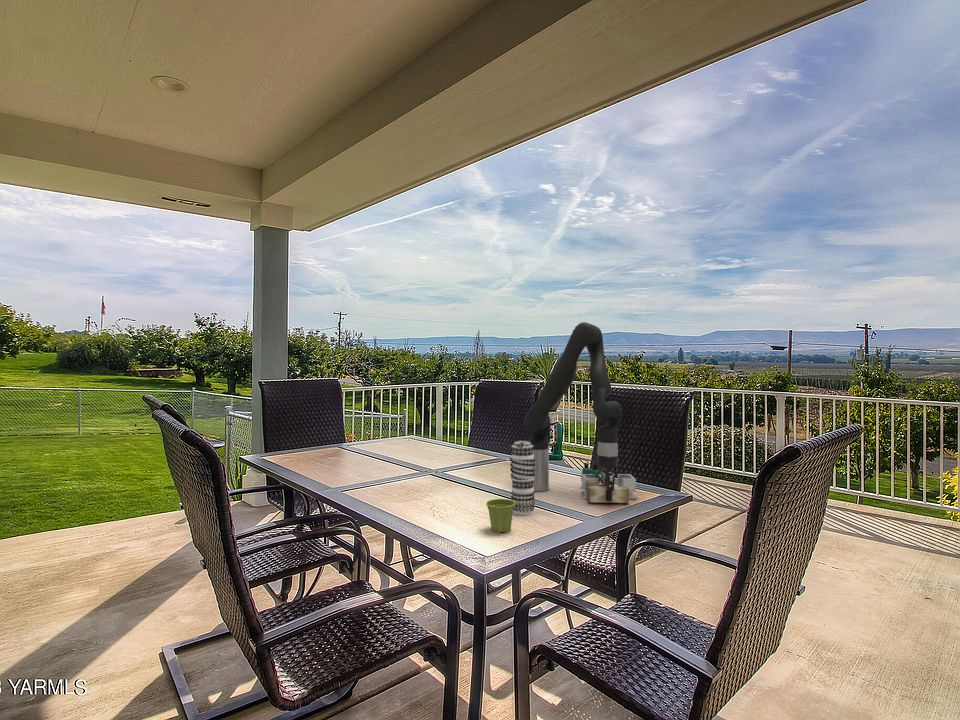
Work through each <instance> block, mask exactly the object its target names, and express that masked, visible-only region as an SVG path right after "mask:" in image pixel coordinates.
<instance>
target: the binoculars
mask: <svg viewBox="0 0 960 720" xmlns="http://www.w3.org/2000/svg"><path fill="white" fill-rule="evenodd" d="M589 466H590V464H589V463H588V462H583V467H582V470H581V475H582V474H594V475H595V478H598V486H602V484H601V476H600V470H599V469H598V467H599V466H598V465H597V464H593V465H592V468H590V467H589ZM580 482H582V476H580ZM581 488H582V489H583V487H582V486H581Z"/></svg>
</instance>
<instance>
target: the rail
mask: <svg viewBox="0 0 960 720" xmlns="http://www.w3.org/2000/svg"><path fill="white" fill-rule="evenodd" d="M609 487H611V485H610V486H609ZM605 489H606V487H605V486H587V493H586V499H585V500H586V501H587V503H605V504H606V503H611V504H615V503H617V504H629V503H630V500H629V489H628V488H627V487H626V486H624V487H620V486H618V485H614V491H612V501H606V490H605Z"/></svg>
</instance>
